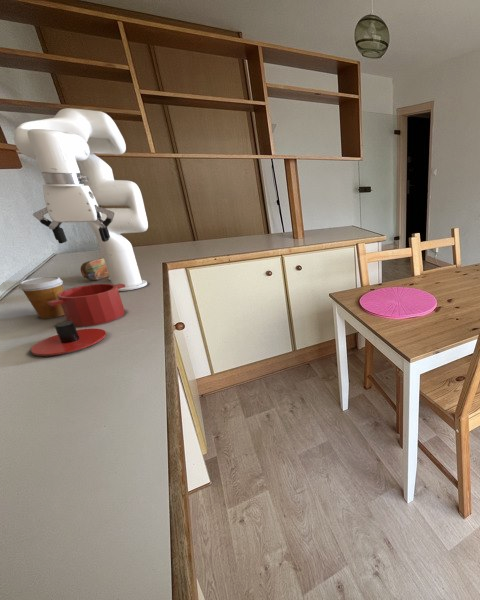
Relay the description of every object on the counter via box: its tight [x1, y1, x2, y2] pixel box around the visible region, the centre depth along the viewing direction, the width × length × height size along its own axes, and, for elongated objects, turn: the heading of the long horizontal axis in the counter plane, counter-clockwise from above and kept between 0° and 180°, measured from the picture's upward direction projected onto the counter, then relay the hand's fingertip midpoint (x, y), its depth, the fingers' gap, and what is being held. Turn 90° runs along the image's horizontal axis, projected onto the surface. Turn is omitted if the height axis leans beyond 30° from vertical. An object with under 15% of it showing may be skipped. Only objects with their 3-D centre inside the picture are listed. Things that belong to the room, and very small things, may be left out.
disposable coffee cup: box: [18, 275, 65, 319], centre depth 101 cm, size 10×10×12 cm
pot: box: [47, 283, 126, 328], centre depth 100 cm, size 14×19×10 cm
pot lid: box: [30, 320, 107, 357], centre depth 85 cm, size 15×15×6 cm
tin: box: [80, 257, 110, 281], centre depth 140 cm, size 15×3×8 cm, turn 179°
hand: (85, 241), depth 93 cm, fingers open, 9 cm apart
